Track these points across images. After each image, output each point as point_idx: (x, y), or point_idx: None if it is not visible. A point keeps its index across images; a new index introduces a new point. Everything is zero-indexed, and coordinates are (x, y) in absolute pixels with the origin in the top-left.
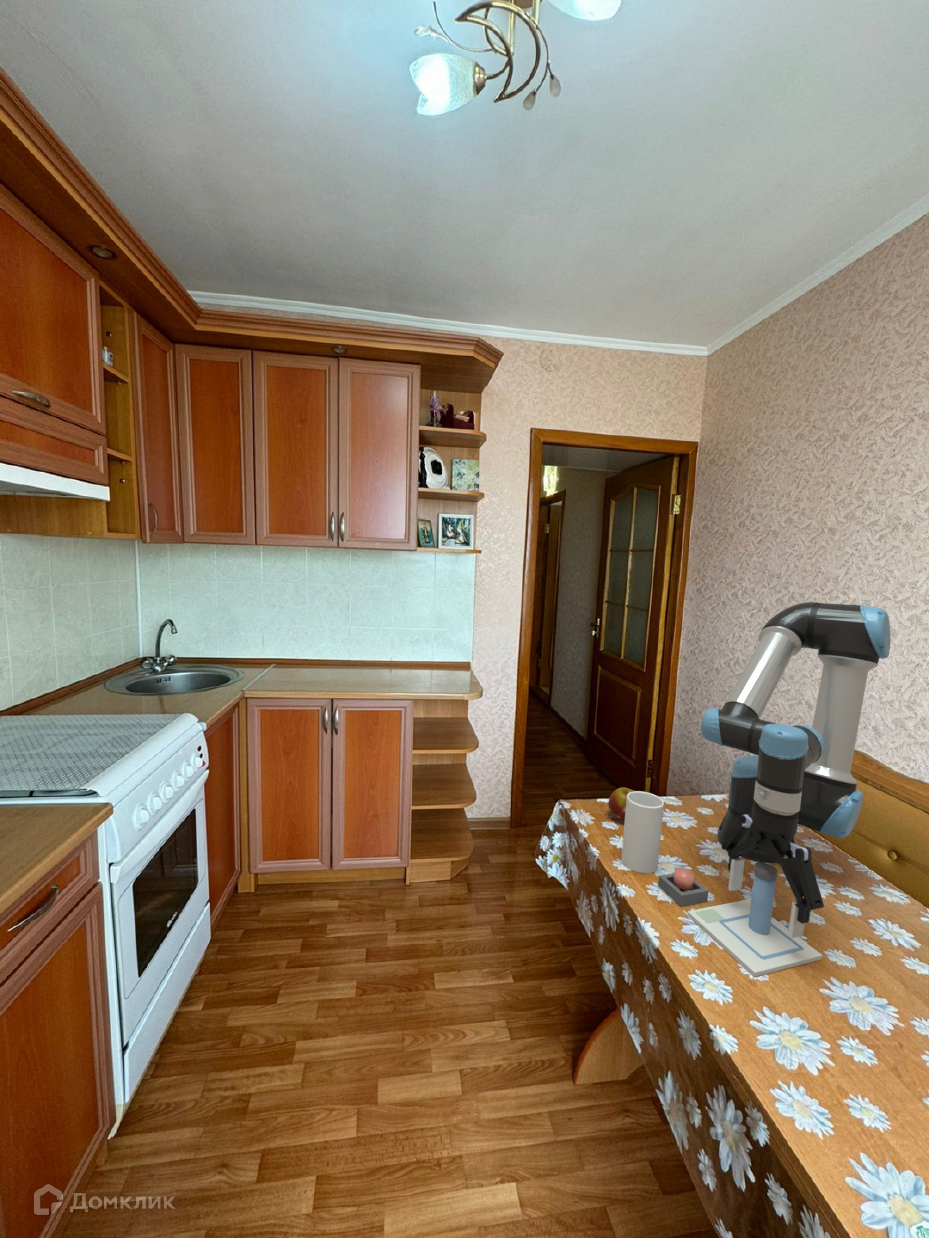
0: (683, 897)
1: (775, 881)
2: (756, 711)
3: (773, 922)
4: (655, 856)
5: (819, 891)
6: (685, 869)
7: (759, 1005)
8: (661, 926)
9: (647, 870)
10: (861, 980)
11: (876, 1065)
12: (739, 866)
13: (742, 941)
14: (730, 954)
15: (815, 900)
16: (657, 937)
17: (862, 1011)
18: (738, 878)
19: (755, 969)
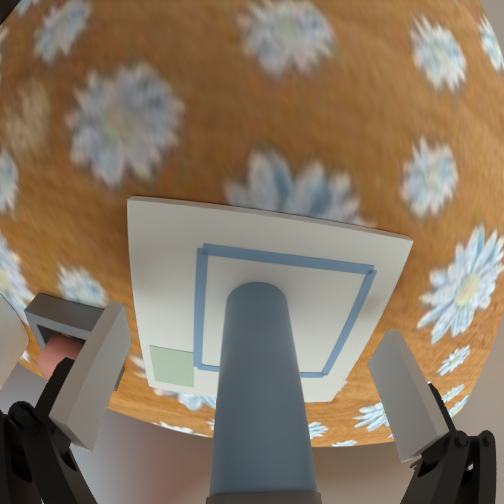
0: (117, 383)
1: (316, 485)
2: None
3: (258, 236)
4: (2, 346)
5: (494, 478)
6: (42, 361)
7: (355, 412)
8: (173, 419)
9: (24, 339)
10: (470, 219)
11: (468, 356)
12: (89, 410)
13: None
14: None
15: (472, 470)
16: (195, 432)
17: (469, 300)
18: (109, 359)
19: (328, 396)
